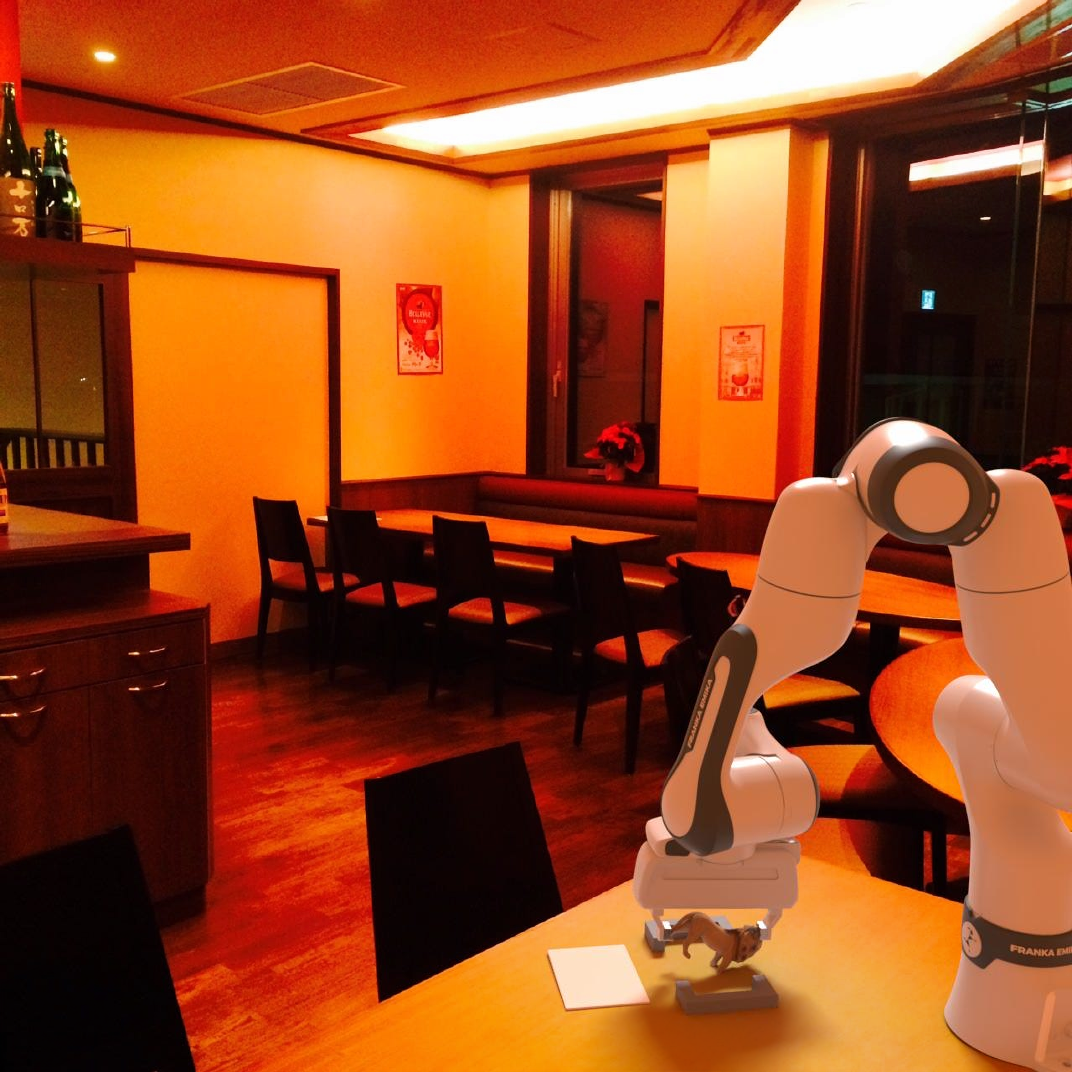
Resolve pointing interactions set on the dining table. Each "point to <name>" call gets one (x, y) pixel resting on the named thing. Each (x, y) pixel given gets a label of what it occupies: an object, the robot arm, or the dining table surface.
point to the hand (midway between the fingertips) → (711, 938)
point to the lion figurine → (718, 939)
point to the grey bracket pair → (715, 1002)
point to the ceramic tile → (596, 977)
